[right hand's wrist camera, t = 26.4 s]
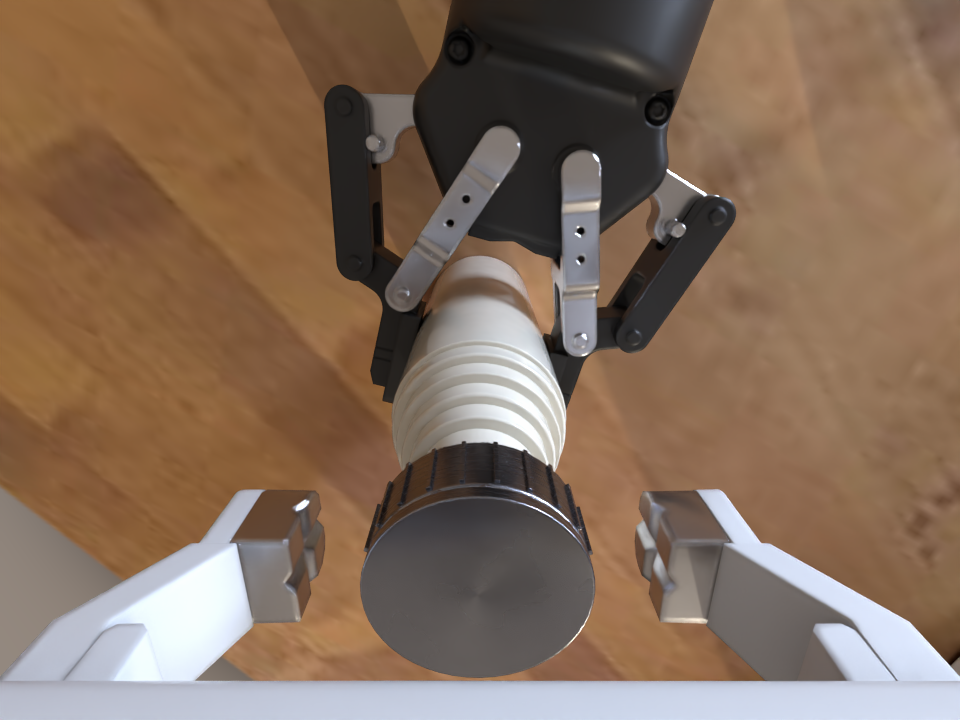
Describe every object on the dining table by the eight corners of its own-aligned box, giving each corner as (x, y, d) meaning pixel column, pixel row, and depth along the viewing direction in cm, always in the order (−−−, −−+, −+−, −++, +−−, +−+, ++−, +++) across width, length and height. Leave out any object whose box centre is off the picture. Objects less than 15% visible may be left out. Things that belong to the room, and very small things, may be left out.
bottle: (528, 347, 27) (604, 649, 10) (435, 351, 27) (363, 658, 11) (527, 253, 25) (616, 437, 9) (427, 258, 25) (326, 448, 9)
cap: (616, 553, 11) (639, 624, 9) (447, 631, 11) (442, 709, 10) (514, 400, 9) (522, 450, 8) (334, 500, 10) (306, 565, 9)
